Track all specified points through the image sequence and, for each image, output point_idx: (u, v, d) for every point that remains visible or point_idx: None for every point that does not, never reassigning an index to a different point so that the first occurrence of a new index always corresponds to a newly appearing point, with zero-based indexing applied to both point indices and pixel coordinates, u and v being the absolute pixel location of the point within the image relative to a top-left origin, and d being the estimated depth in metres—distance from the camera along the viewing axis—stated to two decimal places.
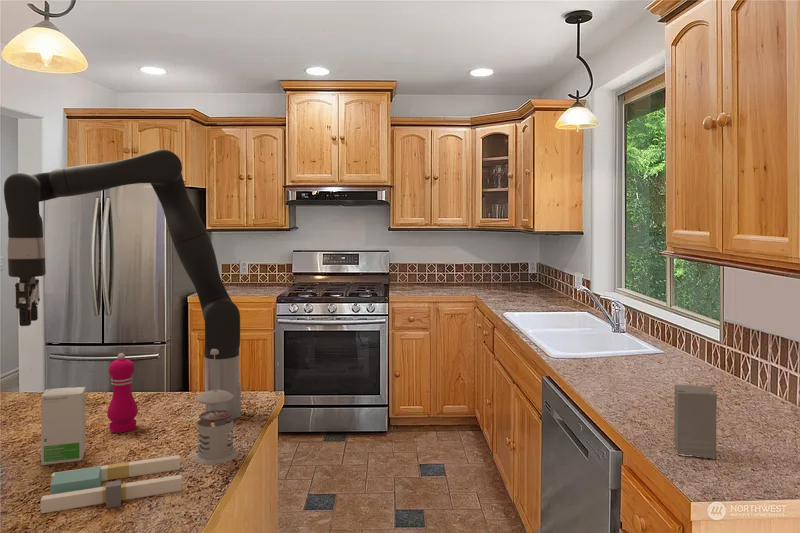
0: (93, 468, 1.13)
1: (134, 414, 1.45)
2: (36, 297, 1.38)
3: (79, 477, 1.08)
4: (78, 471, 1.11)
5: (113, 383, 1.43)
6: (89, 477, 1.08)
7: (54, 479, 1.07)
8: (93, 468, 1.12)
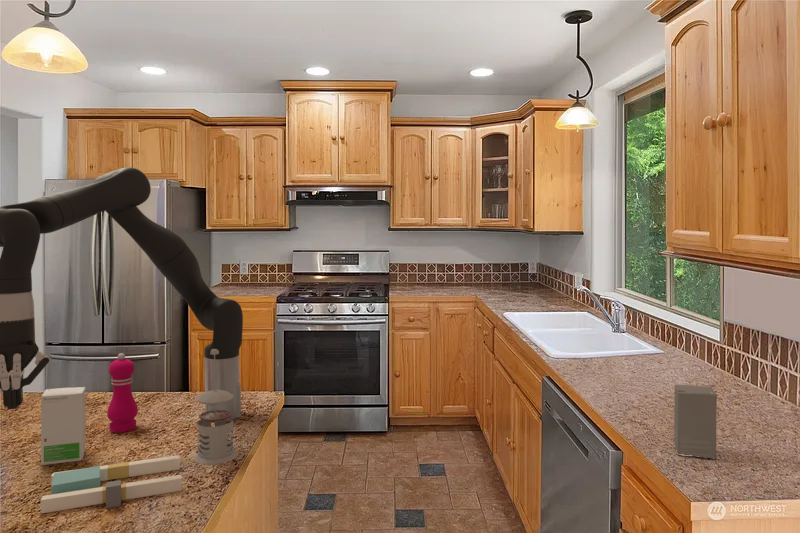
0: (92, 467, 1.13)
1: (134, 414, 1.45)
2: (11, 371, 1.05)
3: (80, 477, 1.08)
4: (77, 471, 1.11)
5: (113, 383, 1.43)
6: (90, 477, 1.09)
7: (54, 480, 1.07)
8: (92, 468, 1.13)
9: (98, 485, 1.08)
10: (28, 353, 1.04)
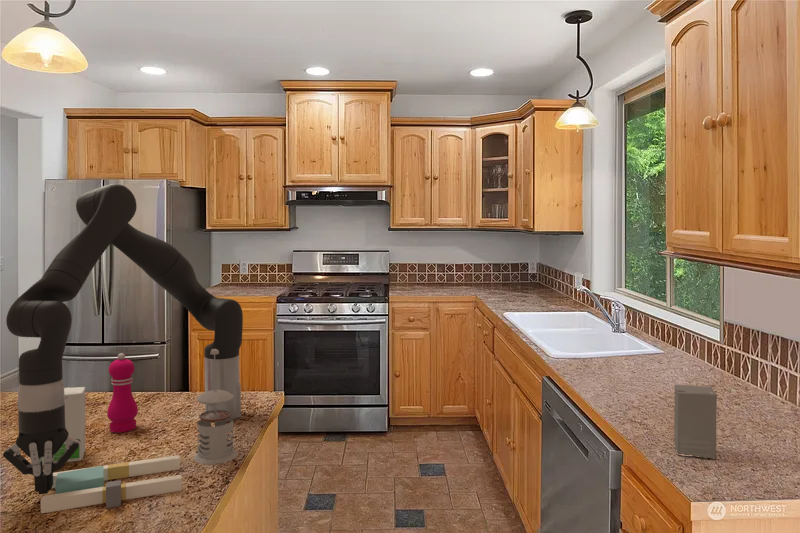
0: (95, 467, 1.13)
1: (134, 414, 1.45)
2: None
3: (84, 477, 1.08)
4: (80, 471, 1.11)
5: (113, 383, 1.43)
6: (94, 476, 1.09)
7: (58, 480, 1.07)
8: (96, 468, 1.13)
9: (102, 485, 1.09)
10: (59, 439, 1.07)
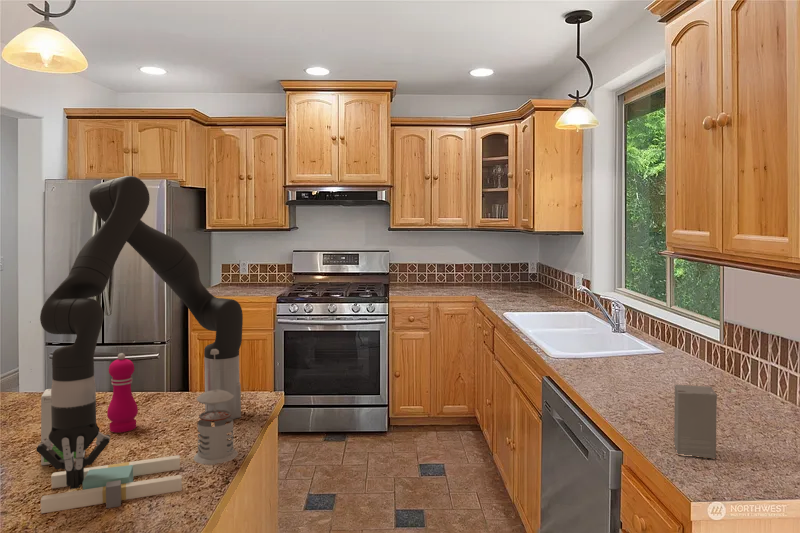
0: (125, 466, 1.14)
1: (134, 414, 1.45)
2: None
3: (111, 476, 1.09)
4: (110, 469, 1.12)
5: (113, 383, 1.43)
6: (120, 476, 1.09)
7: (87, 476, 1.09)
8: (125, 467, 1.13)
9: None
10: (90, 435, 1.09)
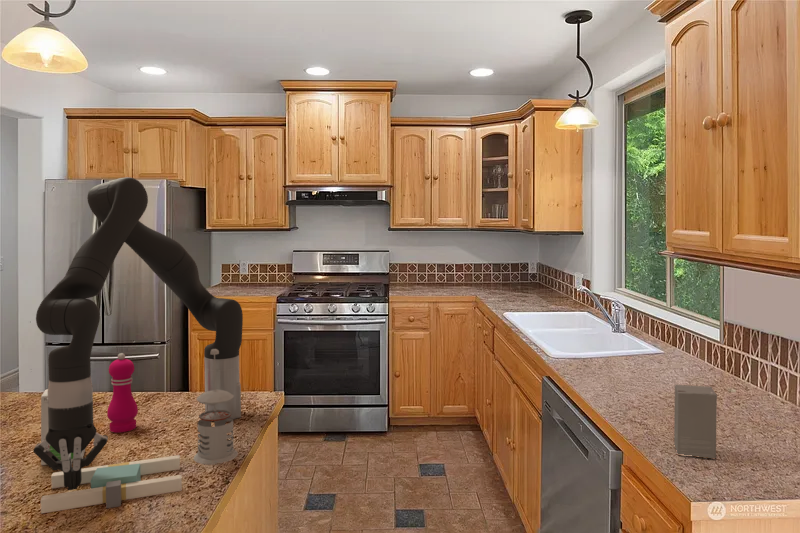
0: (132, 464, 1.14)
1: (134, 414, 1.45)
2: None
3: (118, 474, 1.10)
4: (118, 467, 1.13)
5: (113, 383, 1.43)
6: (128, 474, 1.10)
7: (95, 475, 1.09)
8: (133, 465, 1.14)
9: None
10: (87, 435, 1.08)
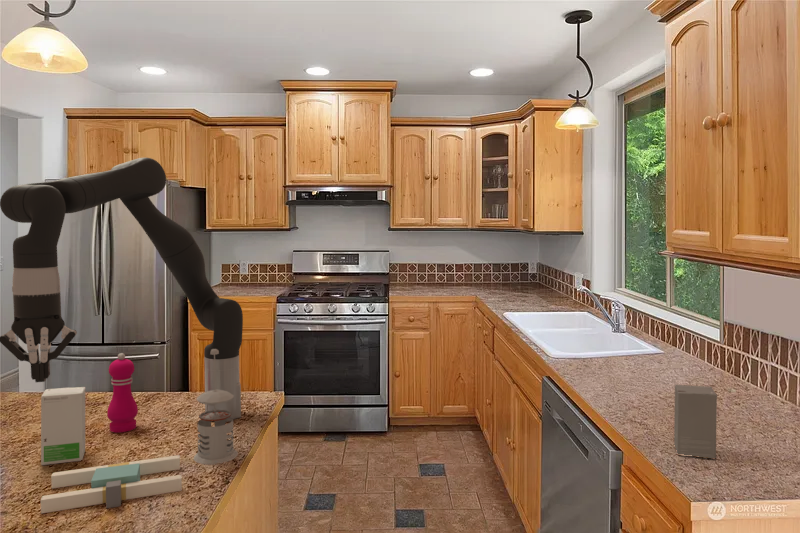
0: (132, 464, 1.14)
1: (134, 414, 1.45)
2: (38, 345, 1.07)
3: (119, 474, 1.10)
4: (117, 467, 1.13)
5: (113, 383, 1.43)
6: (128, 474, 1.10)
7: (95, 475, 1.09)
8: (132, 465, 1.14)
9: None
10: (55, 327, 1.06)
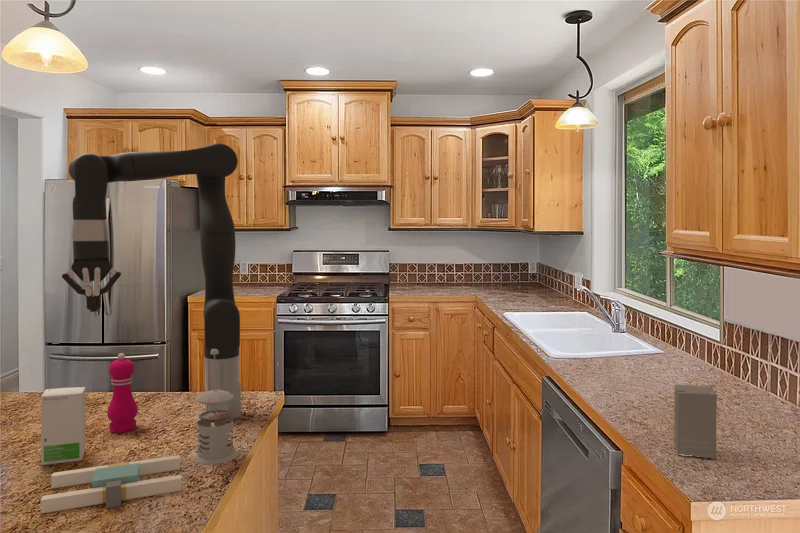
0: (132, 464, 1.14)
1: (134, 414, 1.45)
2: None
3: (119, 474, 1.10)
4: (117, 467, 1.13)
5: (113, 383, 1.43)
6: (129, 474, 1.10)
7: (95, 475, 1.09)
8: (132, 465, 1.14)
9: None
10: (105, 268, 1.33)
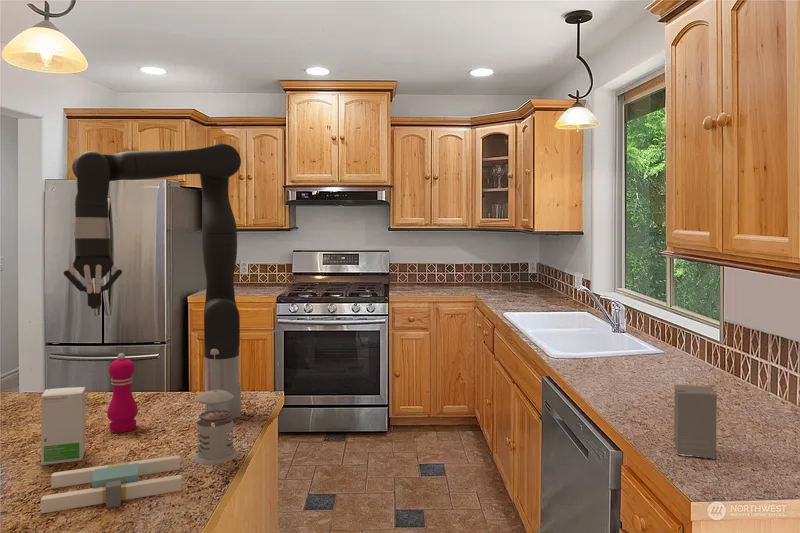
0: (131, 464, 1.14)
1: (134, 414, 1.45)
2: (92, 280, 1.35)
3: (119, 474, 1.10)
4: (117, 467, 1.13)
5: (113, 383, 1.43)
6: (129, 473, 1.10)
7: (95, 475, 1.09)
8: (132, 465, 1.14)
9: None
10: (106, 265, 1.34)
